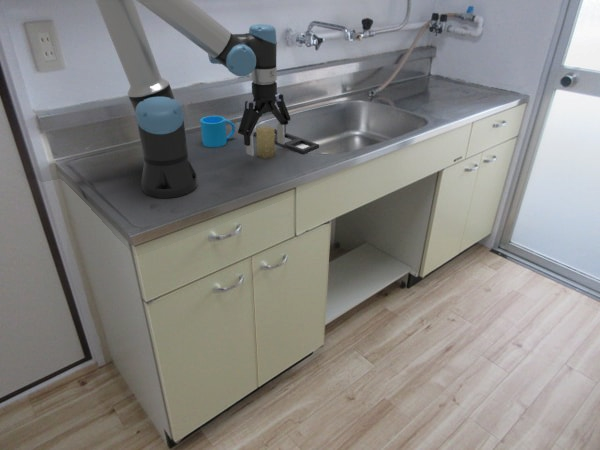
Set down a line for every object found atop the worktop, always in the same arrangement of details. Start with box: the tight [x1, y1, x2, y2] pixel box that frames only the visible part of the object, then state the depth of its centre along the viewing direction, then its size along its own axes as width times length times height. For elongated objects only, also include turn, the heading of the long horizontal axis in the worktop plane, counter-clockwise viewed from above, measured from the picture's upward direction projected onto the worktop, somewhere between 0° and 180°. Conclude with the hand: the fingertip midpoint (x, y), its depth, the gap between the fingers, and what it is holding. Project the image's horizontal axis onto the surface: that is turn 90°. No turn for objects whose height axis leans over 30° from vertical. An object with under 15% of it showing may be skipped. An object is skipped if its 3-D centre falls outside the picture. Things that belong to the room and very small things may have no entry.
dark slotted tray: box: [253, 128, 320, 155], centre depth 158 cm, size 8×24×1 cm, turn 47°
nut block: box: [255, 125, 276, 160], centre depth 146 cm, size 4×4×9 cm
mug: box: [199, 115, 236, 148], centre depth 155 cm, size 12×8×8 cm
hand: (265, 148), depth 147 cm, fingers open, 13 cm apart
